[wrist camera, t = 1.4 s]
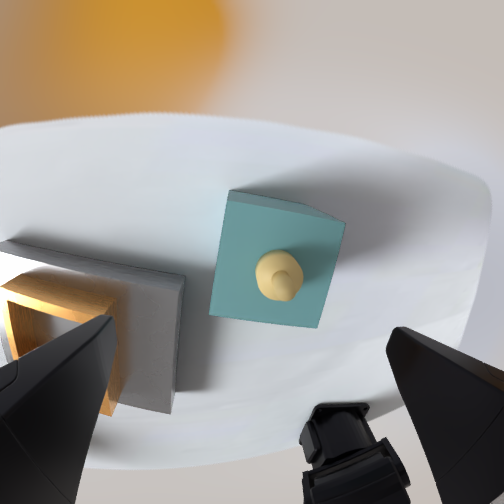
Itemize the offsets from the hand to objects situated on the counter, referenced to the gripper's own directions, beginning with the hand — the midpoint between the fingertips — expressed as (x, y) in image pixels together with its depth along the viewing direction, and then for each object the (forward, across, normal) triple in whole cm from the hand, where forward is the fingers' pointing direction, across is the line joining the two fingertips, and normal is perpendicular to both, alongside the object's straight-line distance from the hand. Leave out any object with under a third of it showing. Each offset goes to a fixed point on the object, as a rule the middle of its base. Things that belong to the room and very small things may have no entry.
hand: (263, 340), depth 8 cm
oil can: (+14, -2, +1) cm, 14 cm away
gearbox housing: (+13, +13, +10) cm, 21 cm away
